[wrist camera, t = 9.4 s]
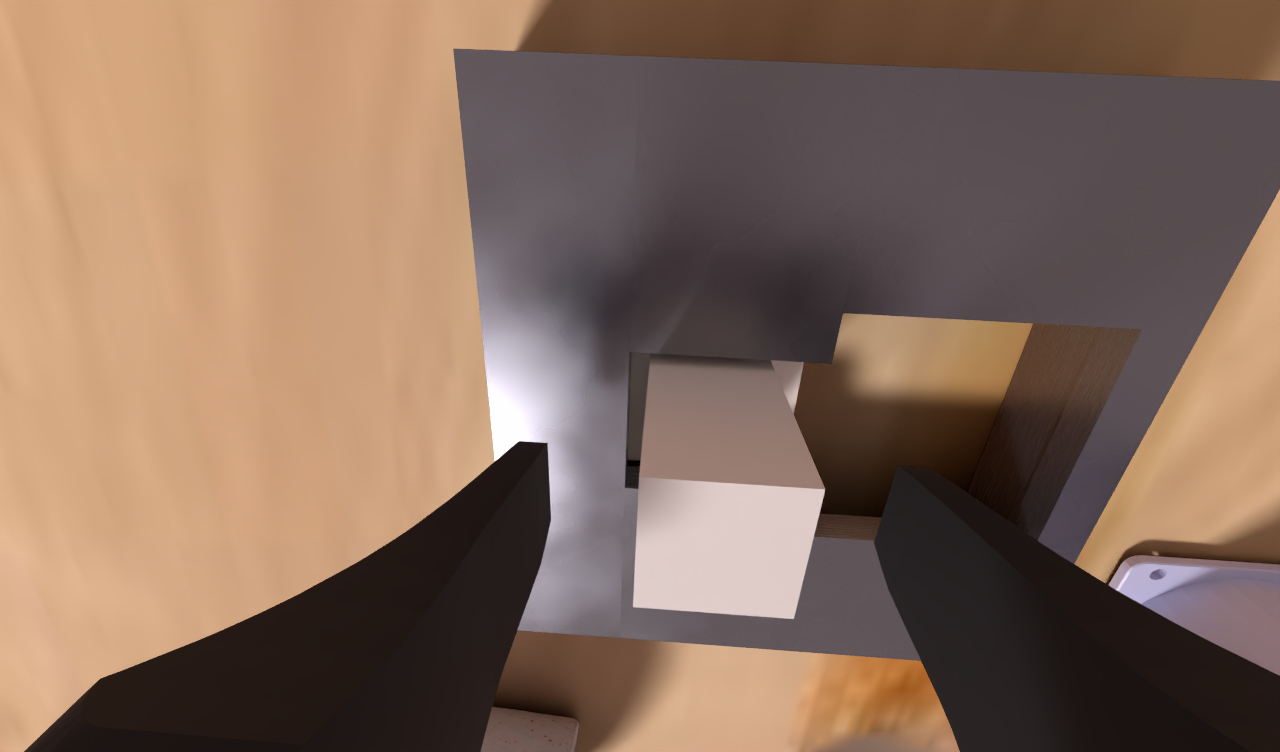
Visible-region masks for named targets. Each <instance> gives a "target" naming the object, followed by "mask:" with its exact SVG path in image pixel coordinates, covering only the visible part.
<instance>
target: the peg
mask: <svg viewBox="0 0 1280 752" xmlns="http://www.w3.org/2000/svg"><path fill="white" fill-rule="evenodd" d="M803 365H804V362H792V361H774V360H757V359H740V358H722V357H705V356H688V355H670V354H653V353H635V352H632V353H631V382H630V411H629V440H628V460H639V461H641V462H640V472H639V489H638V510H637V531H636V552H635V574H634V595H633V607H638V608H651V609H665V610H678V611H692V612H705V613H719V614H732V615H746V616H759V617H773V618H786V619H794V616H795V612H796V608H797V604H798V600H799V596H800V592H801V587H802V583H803V579H804V575H805V571H806V567H807V563H808V559H809V555H810V551H811V546H812V542H813V538H814V534H815V530H816V526H817V522H818V518H819V514H820V509H821V505H822V501H823V497H824V493H825V487H824V485H823V483H822V480H821V478H820V476H819V473H818V471H817V469H816V466H815V464H814V462H813V459H812V457H811V454H810V452H809V450H808V447H807V445H806V443H805V440H804V438H803V436H802V433H801V431H800V428H799V426H798V424H797V421H796V419H795V417H794V411H795V406H796V400H797V395H798V390H799V385H800V380H801V375H802V370H803Z"/></svg>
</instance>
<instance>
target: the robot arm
mask: <svg viewBox="0 0 1280 752" xmlns="http://www.w3.org/2000/svg"><path fill="white" fill-rule="evenodd" d="M550 523H551V505H550V483H549V462H548V443H541V442H525V441H518V442H517V443H516V444H515V445H514V446H512V447H511V448H510V449H509V450H508V451H506V452H505V453H504V454H503V455H502V456H501V457H500V458H498V459H497V460H496V461H495V462H494V463H493V464H491V465H490V466H489V467H488V468H487V469H486V470H485V471H483V472H482V473H481V474H480V475H479V476H478V477H476V478H475V479H474V480H473V481H472V482H470V483H469V484H468V485H467V486H466V487H464V488H463V489H462V490H461V491H459V492H458V493H457V494H456V495H455V496H453V497H452V498H451V499H450V500H448V501H447V502H446V503H444V504H443V505H442V506H440V507H439V508H438V509H436V510H435V511H434V512H432V513H431V514H430V515H428V516H427V517H426V518H424V519H423V520H422V521H420V522H419V523H418V524H416V525H415V526H414V527H412V528H411V529H409V530H408V531H406V532H405V533H403V534H402V535H400V536H399V537H397V538H396V539H394V540H393V541H391V542H390V543H388V544H386V545H385V546H383V547H382V548H380V549H378V550H377V551H375V552H374V553H372V554H370V555H369V556H367V557H366V558H364V559H362V560H361V561H359V562H357V563H356V564H354V565H352V566H350V567H348V568H346V569H345V570H343V571H341V572H339V573H337V574H335V575H334V576H332V577H330V578H328V579H326V580H324V581H323V582H321V583H319V584H317V585H315V586H313V587H311V588H310V589H308V590H306V591H304V592H302V593H300V594H298V595H296V596H295V597H293V598H291V599H288V600H286V601H284V602H282V603H280V604H278V605H276V606H274V607H272V608H270V609H268V610H266V611H264V612H262V613H259V614H257V615H255V616H253V617H251V618H248V619H246V620H244V621H242V622H240V623H237V624H235V625H233V626H231V627H228V628H226V629H224V630H222V631H219V632H217V633H215V634H212V635H210V636H208V637H205V638H203V639H201V640H198V641H196V642H193V643H191V644H188V645H186V646H183V647H181V648H178V649H176V650H173V651H171V652H168V653H166V654H163V655H161V656H158V657H156V658H153V659H150V660H148V661H145V662H143V663H140V664H138V665H135V666H133V667H130V668H128V669H125V670H123V671H120V672H117V673H115V674H112V675H109V676H106V677H104V678H101V679H100V680H99V681H97V682H96V683H95V684H94V685H93V686H92V687H91V688H90V689H89V690H88V691H87V692H86V693H85V694H84V695H83V696H82V697H80V698H79V699H78V700H77V701H76V702H75V703H74V704H73V705H72V706H71V707H70V708H69V709H68V710H67V711H66V712H65V713H64V714H63V715H62V716H61V717H60V718H59V719H58V720H57V721H56V722H54V723H53V724H52V725H51V726H50V727H49V728H48V729H47V730H46V731H45V732H44V733H43V734H42V735H41V736H40V737H39V738H38V739H37V740H36V741H35V742H34V743H33V744H32V745H31V746H29V747H28V748H27V749H26V750H25V751H24V752H481V748H482V744H483V740H484V736H485V733H486V729H487V725H488V721H489V717H490V713H491V710H492V706H493V702H494V698H495V694H496V691H497V687H498V684H499V681H500V678H501V675H502V672H503V669H504V665H505V663H506V660H507V657H508V654H509V652H510V649H511V646H512V643H513V641H514V638H515V635H516V632H517V630H518V627H519V624H520V621H521V619H522V616H523V613H524V610H525V608H526V605H527V602H528V599H529V597H530V594H531V591H532V588H533V585H534V583H535V580H536V577H537V574H538V571H539V568H540V565H541V562H542V558H543V554H544V550H545V545H546V541H547V536H548V532H549V527H550ZM874 544H875V548H876V551H877V555H878V558H879V562H880V565H881V569H882V572H883V575H884V578H885V581H886V584H887V587H888V590H889V592H890V594H891V596H892V599H893V601H894V603H895V605H896V608H897V610H898V612H899V614H900V616H901V619H902V621H903V623H904V625H905V627H906V629H907V632H908V634H909V636H910V638H911V640H912V642H913V644H914V646H915V649H916V651H917V653H918V655H919V657H920V659H921V661H922V663H923V666H924V668H925V670H926V672H927V674H928V676H929V678H930V681H931V683H932V685H933V687H934V689H935V691H936V693H937V695H938V698H939V700H940V702H941V704H942V707H943V709H944V711H945V714H946V716H947V719H948V721H949V723H950V726H951V728H952V731H953V733H954V736H955V739H956V742H957V745H958V747H959V750H960V752H1280V565H1278V564H1263V563H1249V562H1234V561H1219V560H1205V559H1190V558H1175V557H1160V556H1146V555H1136V556H1132V557H1129V558H1127V559H1126V560H1124V561H1123V562H1122V564H1121V565H1120V567H1119V568H1118V570H1117V572H1116V573H1115V575H1114V577H1113V578H1112V580H1111V582H1110V583H1109V585H1107V584H1105V583H1104V582H1102V581H1100V580H1099V579H1097V578H1095V577H1094V576H1092V575H1091V574H1089V573H1087V572H1086V571H1084V570H1083V569H1081V568H1079V567H1078V566H1076V565H1075V564H1073V563H1071V562H1070V561H1068V560H1067V559H1065V558H1063V557H1062V556H1060V555H1059V554H1057V553H1055V552H1054V551H1052V550H1051V549H1049V548H1048V547H1046V546H1045V545H1043V544H1042V543H1040V542H1039V541H1037V540H1036V539H1034V538H1033V537H1031V536H1030V535H1028V534H1027V533H1025V532H1024V531H1022V530H1021V529H1019V528H1018V527H1016V526H1015V525H1013V524H1012V523H1010V522H1009V521H1008V520H1006V519H1005V518H1003V517H1002V516H1000V515H999V514H997V513H996V512H994V511H993V510H992V509H990V508H989V507H987V506H986V505H984V504H983V503H981V502H980V501H979V500H977V499H976V498H974V497H973V496H971V495H970V494H968V493H967V492H965V491H964V490H963V489H961V488H960V487H958V486H957V485H955V484H954V483H952V482H951V481H949V480H947V479H946V478H944V477H943V476H941V475H940V474H938V473H936V472H934V471H933V470H931V469H929V468H921V467H906V466H898V467H897V470H896V473H895V477H894V480H893V483H892V486H891V489H890V493H889V496H888V499H887V502H886V506H885V509H884V512H883V515H882V518H881V522H880V525H879V528H878V531H877V534H876V538H875V541H874Z"/></svg>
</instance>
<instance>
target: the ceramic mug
mask: <svg viewBox="0 0 1280 752" xmlns="http://www.w3.org/2000/svg"><path fill="white" fill-rule="evenodd" d="M578 729H579V722H578V721H577V720H575V719H574V718H568V717H561V716H554V715H547V714H541V713H534V712H528V711H522V710H516V709H507V708H498V707H492V710H491V713H490V717H489V721H488V725H487V729H486V733H485V736H484V740H483V744H482V748H481V752H574V750H575V746H576V742H577V735H578Z"/></svg>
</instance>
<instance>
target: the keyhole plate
mask: <svg viewBox="0 0 1280 752" xmlns="http://www.w3.org/2000/svg"><path fill="white" fill-rule="evenodd" d="M453 50H454V59H455V69H456V79H457V89H458V99H459V109H460V119H461V129H462V139H463V149H464V158H465V168H466V178H467V188H468V198H469V208H470V218H471V228H472V238H473V248H474V257H475V267H476V277H477V287H478V297H479V307H480V317H481V327H482V337H483V347H484V356H485V366H486V376H487V386H488V396H489V406H490V416H491V426H492V436H493V445H494V455H495V461H496V460H497V459H498V458H500V457H501V456H502V455H503V454H504V453H505V452H506V451H508V450H509V449H510V448H511V447H512V446H514V445H515V444H516V443H517V442H518V441H525V442H541V443H548V462H549V483H550V505H551V523H550V527H549V532H548V536H547V541H546V545H545V550H544V554H543V558H542V562H541V565H540V568H539V571H538V574H537V577H536V580H535V583H534V585H533V588H532V591H531V594H530V597H529V599H528V602H527V605H526V608H525V610H524V613H523V616H522V619H521V621H520V624H519V627H518V630H520V631H534V632H547V633H560V634H573V635H587V636H600V637H613V638H626V639H640V640H653V641H666V642H679V643H693V644H706V645H719V646H733V647H746V648H759V649H772V650H786V651H799V652H812V653H825V654H839V655H852V656H865V657H878V658H892V659H905V660H918V661H921V659H920V657H919V655H918V653H917V651H916V649H915V646H914V644H913V642H912V640H911V638H910V636H909V634H908V632H907V629H906V627H905V625H904V623H903V621H902V619H901V616H900V614H899V612H898V610H897V608H896V605H895V603H894V601H893V599H892V596H891V594H890V592H889V590H888V587H887V584H886V581H885V578H884V575H883V572H882V569H881V565H880V562H879V558H878V555H877V551H876V548H875V544H874V541H875V538H876V534H877V531H878V528H879V525H880V522H881V517H866V516H851V515H836V514H821V513H820V514H819V518H818V522H817V526H816V530H815V534H814V538H813V542H812V546H811V551H810V555H809V559H808V563H807V567H806V571H805V575H804V579H803V583H802V587H801V592H800V596H799V600H798V604H797V608H796V612H795V616H794V619H786V618H773V617H759V616H746V615H732V614H719V613H705V612H692V611H678V610H665V609H651V608H638V607H633V595H634V574H635V552H636V531H637V510H638V489H639V472H640V467H634V466H628V440H629V411H630V382H631V353H632V352H635V353H653V354H670V355H688V356H705V357H722V358H740V359H757V360H774V361H792V362H809V363H827V364H832V360H833V355H834V351H835V346H836V342H837V337H838V333H839V328H840V324H841V319H842V315H843V313H854V314H872V315H890V316H909V317H927V318H946V319H964V320H982V321H1001V322H1019V323H1034V325H1033V327H1032V330H1031V332H1030V335H1029V337H1028V340H1027V342H1026V345H1025V348H1024V350H1023V353H1022V355H1021V358H1020V360H1019V363H1018V365H1017V368H1016V370H1015V373H1014V375H1013V378H1012V380H1011V383H1010V386H1009V388H1008V391H1007V393H1006V396H1005V398H1004V401H1003V403H1002V406H1001V408H1000V411H999V413H998V416H997V419H996V421H995V424H994V426H993V429H992V431H991V434H990V436H989V439H988V441H987V444H986V446H985V449H984V451H983V454H982V457H981V459H980V462H979V464H978V467H977V469H976V472H975V474H974V477H973V479H972V482H971V484H970V487H969V489H968V492H967V493H968V494H970V495H971V496H973V497H974V498H976V499H977V500H979V501H980V502H981V503H983V504H984V505H986V506H987V507H989V508H990V509H992V510H993V511H994V512H996V513H997V514H999V515H1000V516H1002V517H1003V518H1005V519H1006V520H1008V521H1009V522H1010V523H1012V524H1013V525H1015V526H1016V527H1018V528H1019V529H1021V530H1022V531H1024V532H1025V533H1027V534H1028V535H1030V536H1031V537H1033V538H1034V539H1036V540H1037V541H1039V542H1040V543H1042V544H1043V545H1045V546H1046V547H1048V548H1049V549H1051V550H1052V551H1054V552H1055V553H1057V554H1059V555H1060V556H1062V557H1063V558H1065V559H1067V560H1068V561H1070V562H1071V563H1073V564H1074V563H1075V561H1076V559H1077V558H1078V556H1079V554H1080V552H1081V550H1082V548H1083V547H1084V545H1085V543H1086V541H1087V539H1088V538H1089V536H1090V534H1091V532H1092V530H1093V528H1094V527H1095V525H1096V523H1097V521H1098V519H1099V517H1100V516H1101V514H1102V512H1103V510H1104V508H1105V507H1106V505H1107V503H1108V501H1109V499H1110V497H1111V496H1112V494H1113V492H1114V490H1115V488H1116V487H1117V485H1118V483H1119V481H1120V479H1121V477H1122V476H1123V474H1124V472H1125V470H1126V468H1127V466H1128V465H1129V463H1130V461H1131V459H1132V457H1133V456H1134V454H1135V452H1136V450H1137V448H1138V446H1139V445H1140V443H1141V441H1142V439H1143V437H1144V435H1145V434H1146V432H1147V430H1148V428H1149V426H1150V425H1151V423H1152V421H1153V419H1154V417H1155V415H1156V414H1157V412H1158V410H1159V408H1160V406H1161V405H1162V403H1163V401H1164V399H1165V397H1166V395H1167V394H1168V392H1169V390H1170V388H1171V386H1172V384H1173V383H1174V381H1175V379H1176V377H1177V375H1178V374H1179V372H1180V370H1181V368H1182V366H1183V364H1184V363H1185V361H1186V359H1187V357H1188V355H1189V353H1190V352H1191V350H1192V348H1193V346H1194V344H1195V343H1196V341H1197V339H1198V337H1199V335H1200V333H1201V332H1202V330H1203V328H1204V326H1205V324H1206V323H1207V321H1208V319H1209V317H1210V315H1211V313H1212V312H1213V310H1214V308H1215V306H1216V304H1217V302H1218V301H1219V299H1220V297H1221V295H1222V293H1223V292H1224V290H1225V288H1226V286H1227V284H1228V282H1229V281H1230V279H1231V277H1232V275H1233V273H1234V272H1235V270H1236V268H1237V266H1238V264H1239V262H1240V261H1241V259H1242V257H1243V255H1244V253H1245V251H1246V250H1247V248H1248V246H1249V244H1250V242H1251V241H1252V239H1253V237H1254V235H1255V233H1256V231H1257V230H1258V228H1259V226H1260V224H1261V222H1262V220H1263V219H1264V217H1265V215H1266V213H1267V211H1268V210H1269V208H1270V206H1271V204H1272V202H1273V200H1274V199H1275V197H1276V195H1277V193H1278V191H1279V190H1280V81H1267V80H1241V79H1216V78H1190V77H1165V76H1139V75H1113V74H1088V73H1062V72H1037V71H1011V70H986V69H960V68H934V67H909V66H883V65H858V64H832V63H806V62H781V61H755V60H730V59H704V58H678V57H653V56H627V55H602V54H576V53H551V52H525V51H499V50H474V49H453Z"/></svg>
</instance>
